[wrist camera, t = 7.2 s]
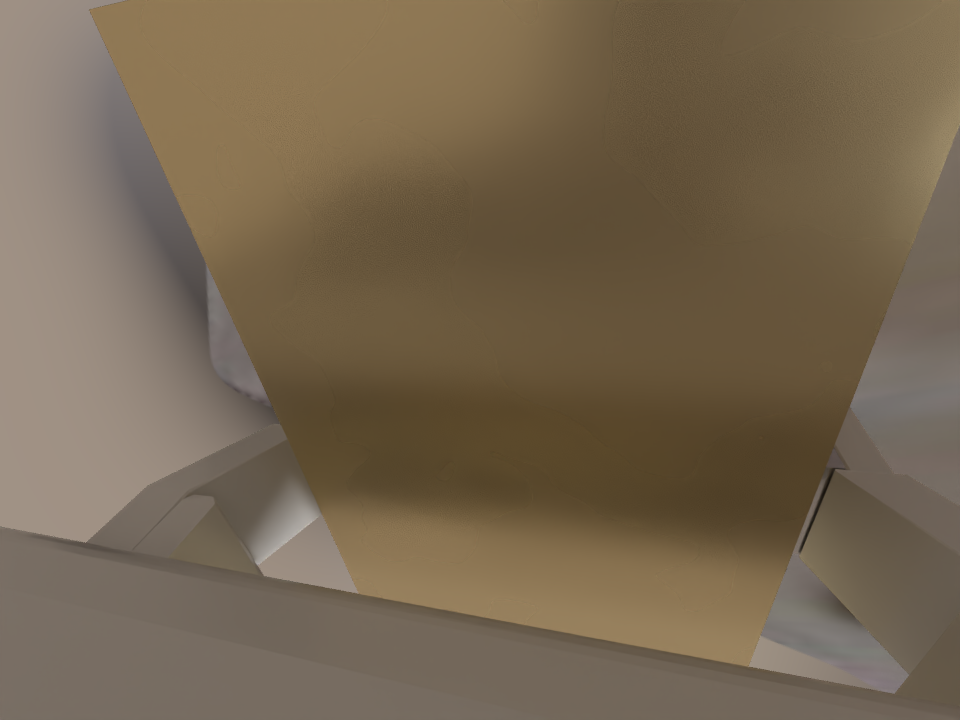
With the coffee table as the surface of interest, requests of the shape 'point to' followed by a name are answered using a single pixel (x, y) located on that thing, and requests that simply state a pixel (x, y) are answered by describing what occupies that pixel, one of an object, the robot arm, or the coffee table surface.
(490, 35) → the gold bar
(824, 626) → the coffee table surface
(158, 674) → the robot arm
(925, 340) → the coffee table surface
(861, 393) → the coffee table surface
